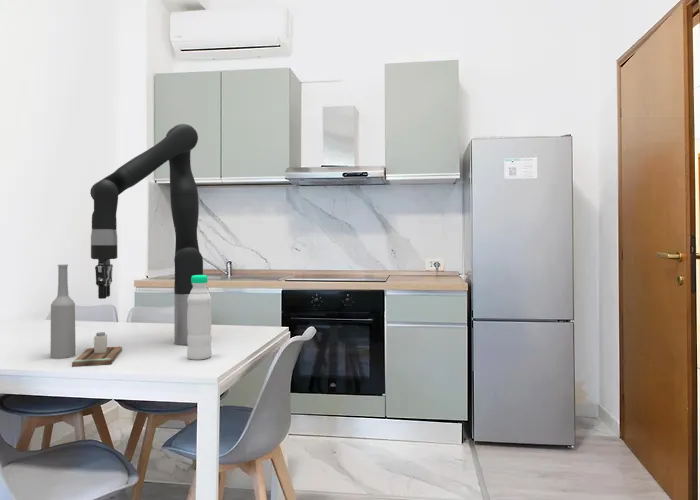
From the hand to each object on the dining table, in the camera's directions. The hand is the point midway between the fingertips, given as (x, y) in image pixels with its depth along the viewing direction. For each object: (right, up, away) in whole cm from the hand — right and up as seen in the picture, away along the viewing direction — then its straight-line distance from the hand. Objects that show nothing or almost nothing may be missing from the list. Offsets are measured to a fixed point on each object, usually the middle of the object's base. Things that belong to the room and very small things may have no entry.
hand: (104, 297), depth 153 cm
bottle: (-10, -18, -5) cm, 21 cm away
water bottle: (+32, -18, -6) cm, 37 cm away
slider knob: (+2, -16, -5) cm, 17 cm away
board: (+2, -18, -8) cm, 19 cm away
